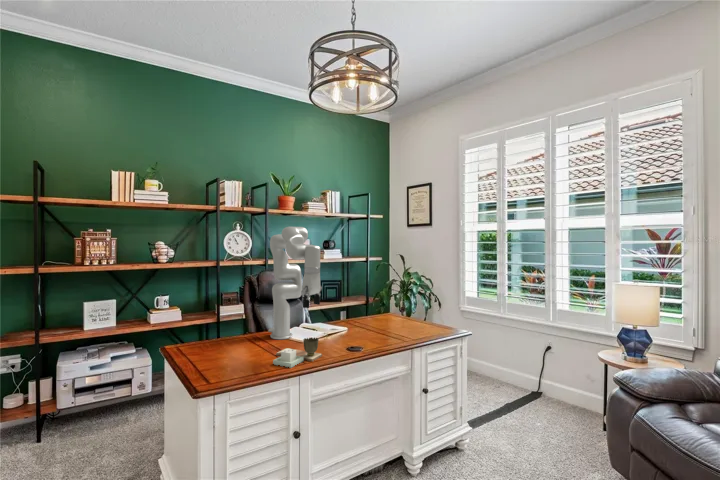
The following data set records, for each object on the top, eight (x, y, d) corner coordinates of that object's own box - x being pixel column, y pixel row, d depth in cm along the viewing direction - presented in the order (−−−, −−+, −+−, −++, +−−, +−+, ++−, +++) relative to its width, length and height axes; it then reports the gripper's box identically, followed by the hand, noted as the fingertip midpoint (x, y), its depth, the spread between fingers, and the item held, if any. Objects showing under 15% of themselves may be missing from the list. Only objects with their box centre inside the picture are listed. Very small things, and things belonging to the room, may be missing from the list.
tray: (273, 364, 170) (273, 360, 170) (286, 358, 179) (286, 354, 179) (291, 368, 166) (291, 363, 166) (303, 361, 175) (303, 357, 175)
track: (276, 355, 183) (276, 352, 183) (287, 350, 192) (287, 347, 192) (312, 361, 175) (312, 359, 175) (322, 356, 183) (322, 353, 183)
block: (281, 362, 171) (281, 351, 171) (287, 359, 176) (287, 348, 176) (290, 364, 169) (290, 352, 169) (296, 360, 174) (296, 349, 174)
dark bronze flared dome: (303, 353, 183) (303, 337, 183) (318, 352, 184) (318, 336, 184) (302, 358, 176) (302, 341, 176) (318, 357, 177) (318, 341, 177)
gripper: (315, 269, 189) (314, 302, 190) (295, 272, 174) (294, 308, 174) (327, 269, 186) (327, 303, 187) (309, 273, 170) (308, 310, 171)
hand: (311, 305), depth 180 cm, fingers open, 9 cm apart
